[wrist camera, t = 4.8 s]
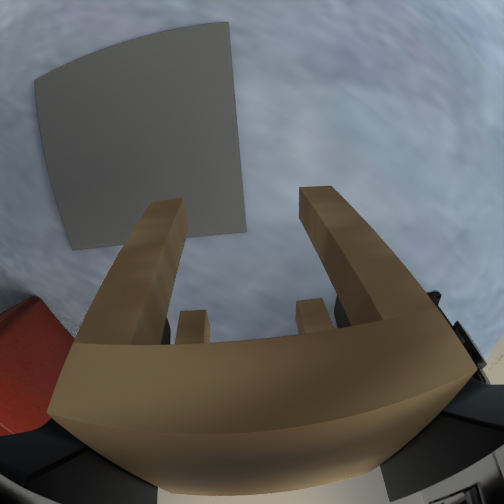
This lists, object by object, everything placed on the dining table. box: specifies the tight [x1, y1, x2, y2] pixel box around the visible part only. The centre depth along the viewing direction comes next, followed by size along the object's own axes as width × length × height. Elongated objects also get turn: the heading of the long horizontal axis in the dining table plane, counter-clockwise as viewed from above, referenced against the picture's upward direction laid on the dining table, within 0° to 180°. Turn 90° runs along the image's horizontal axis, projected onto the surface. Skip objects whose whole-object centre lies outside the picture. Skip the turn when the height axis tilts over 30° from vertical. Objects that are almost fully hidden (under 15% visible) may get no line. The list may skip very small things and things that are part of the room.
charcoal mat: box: [35, 22, 247, 251], centre depth 18 cm, size 16×16×1 cm
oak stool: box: [47, 186, 477, 496], centre depth 8 cm, size 6×6×8 cm
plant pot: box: [0, 296, 75, 436], centre depth 21 cm, size 19×19×17 cm
